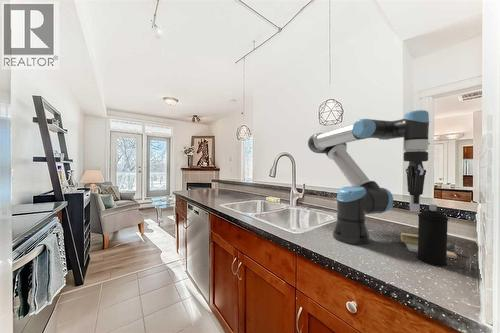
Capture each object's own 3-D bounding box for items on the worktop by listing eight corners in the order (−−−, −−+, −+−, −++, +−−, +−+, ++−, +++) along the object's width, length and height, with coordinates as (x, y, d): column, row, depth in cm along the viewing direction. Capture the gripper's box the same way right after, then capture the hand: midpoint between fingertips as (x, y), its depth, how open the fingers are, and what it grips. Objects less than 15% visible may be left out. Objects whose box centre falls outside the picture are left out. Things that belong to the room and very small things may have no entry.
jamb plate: (409, 250, 82) (409, 248, 82) (401, 238, 95) (401, 236, 95) (432, 254, 79) (432, 252, 78) (421, 241, 92) (421, 238, 92)
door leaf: (432, 254, 79) (432, 245, 78) (421, 241, 92) (421, 233, 92) (459, 259, 75) (460, 249, 75) (444, 244, 88) (444, 236, 88)
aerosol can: (454, 267, 69) (455, 207, 68) (426, 265, 70) (427, 206, 70) (436, 256, 77) (437, 202, 77) (411, 254, 79) (412, 202, 78)
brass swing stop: (402, 242, 87) (402, 233, 87) (400, 239, 91) (400, 230, 91) (434, 246, 82) (434, 237, 82) (431, 243, 86) (431, 234, 86)
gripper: (435, 150, 73) (434, 216, 74) (420, 151, 86) (419, 208, 86) (410, 150, 76) (408, 214, 77) (398, 152, 88) (398, 207, 89)
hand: (414, 211), depth 81 cm, fingers closed
